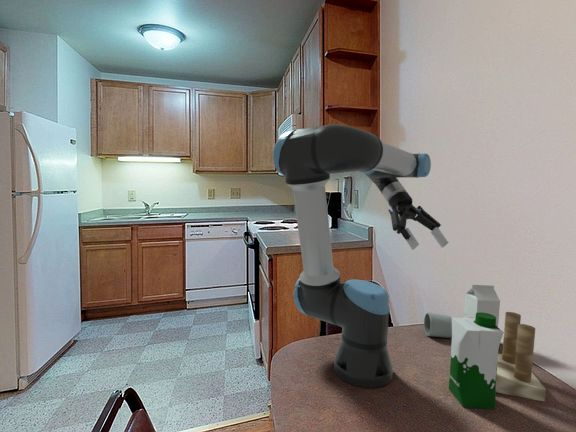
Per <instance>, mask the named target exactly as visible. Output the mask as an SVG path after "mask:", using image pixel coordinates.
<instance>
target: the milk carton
mask: <svg viewBox="0 0 576 432" xmlns="http://www.w3.org/2000/svg"><path fill="white" fill-rule="evenodd" d="M500 304H501V300H500V298H499V296H498V294H497V292H496V289H495V285H493V284H491V285H487V284H472V285H471V288H470V289H469V290H468V291H466V293H465V299H464V313H463V314H464V315H463V317H466V318H469V317H473V318H476V313H488V314H491V315H494V316H495V317H496V326H497V327H498V328H499V319H500V307H501V306H500Z"/></svg>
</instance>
